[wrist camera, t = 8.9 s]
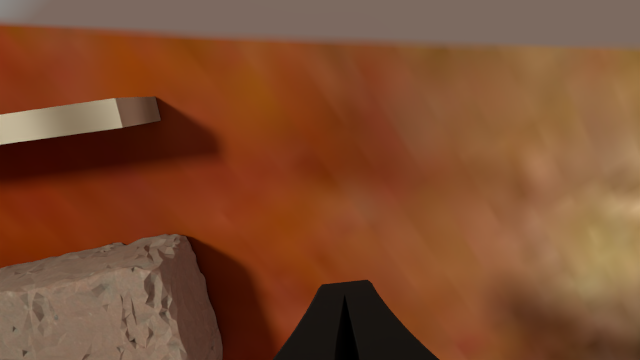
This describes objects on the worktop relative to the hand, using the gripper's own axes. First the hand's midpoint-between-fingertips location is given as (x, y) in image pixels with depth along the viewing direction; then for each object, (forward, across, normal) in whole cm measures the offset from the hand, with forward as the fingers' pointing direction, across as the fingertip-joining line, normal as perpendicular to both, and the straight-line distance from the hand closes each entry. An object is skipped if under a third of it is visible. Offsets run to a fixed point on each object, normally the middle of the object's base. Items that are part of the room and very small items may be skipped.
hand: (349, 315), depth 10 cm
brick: (+10, +16, +5) cm, 20 cm away
